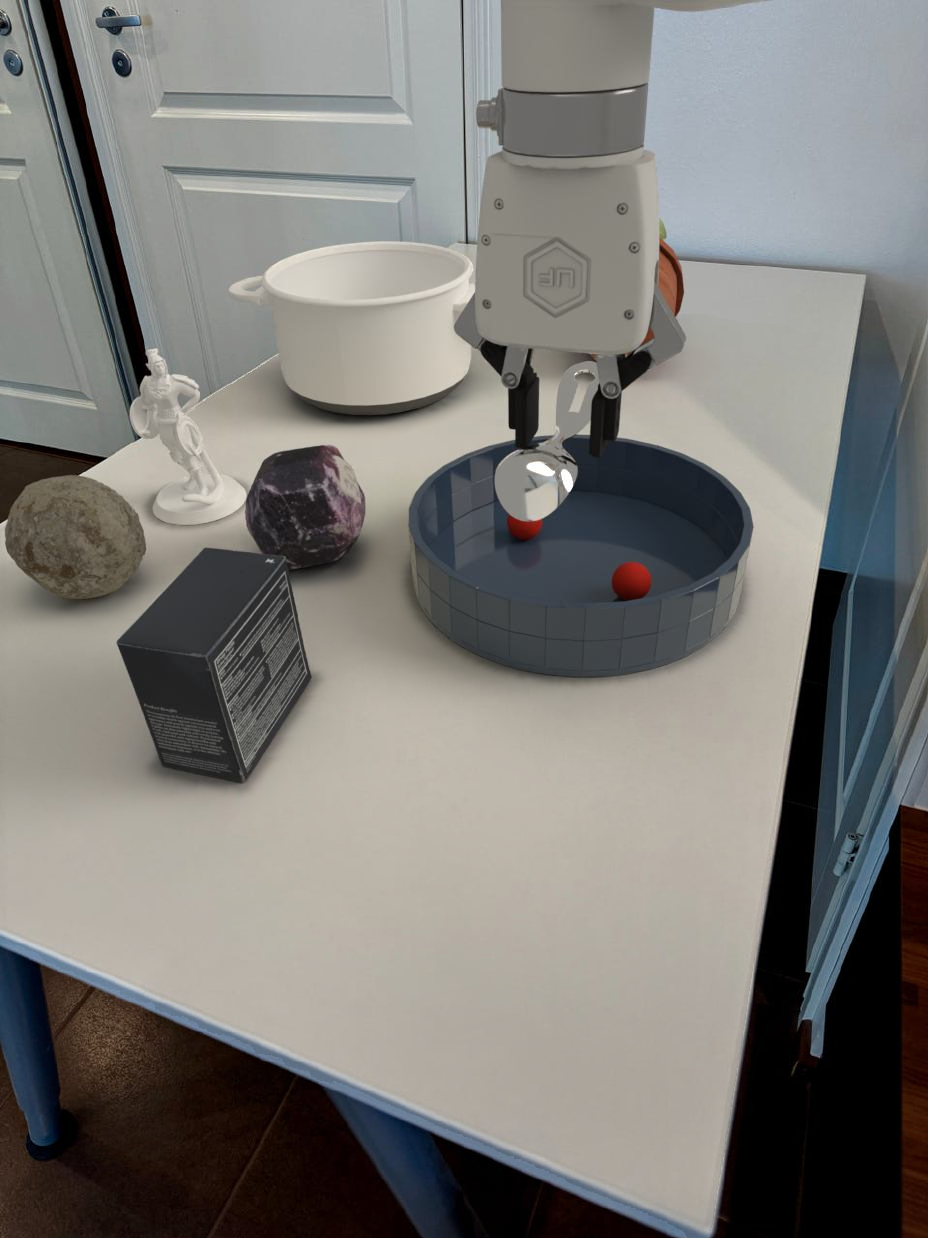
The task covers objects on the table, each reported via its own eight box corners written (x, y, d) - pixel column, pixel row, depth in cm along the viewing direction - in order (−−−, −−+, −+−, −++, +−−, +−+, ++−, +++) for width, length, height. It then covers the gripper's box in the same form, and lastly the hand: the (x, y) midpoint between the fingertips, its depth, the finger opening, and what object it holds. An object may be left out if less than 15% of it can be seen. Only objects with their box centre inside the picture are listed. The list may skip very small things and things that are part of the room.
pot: (531, 357, 110) (533, 242, 102) (498, 438, 92) (496, 306, 84) (285, 346, 117) (267, 237, 108) (208, 420, 99) (180, 295, 90)
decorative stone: (178, 568, 75) (148, 461, 69) (119, 626, 68) (81, 515, 62) (76, 552, 77) (40, 448, 71) (11, 607, 71) (-36, 498, 65)
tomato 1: (546, 531, 76) (546, 500, 74) (536, 549, 74) (536, 518, 72) (513, 525, 77) (513, 495, 75) (502, 543, 75) (502, 512, 73)
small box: (233, 663, 64) (202, 541, 58) (314, 677, 63) (292, 553, 56) (154, 767, 56) (108, 638, 50) (246, 785, 55) (210, 655, 48)
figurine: (132, 513, 82) (84, 357, 73) (194, 472, 89) (157, 324, 80) (206, 532, 79) (166, 372, 70) (265, 488, 85) (235, 335, 76)
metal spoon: (559, 331, 63) (624, 336, 62) (558, 378, 65) (621, 383, 64) (483, 476, 49) (567, 485, 47) (485, 529, 51) (565, 539, 50)
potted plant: (690, 396, 103) (667, 281, 129) (700, 265, 93) (673, 169, 119) (556, 402, 105) (560, 288, 131) (552, 275, 95) (557, 178, 121)
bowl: (756, 517, 78) (768, 455, 74) (716, 711, 58) (729, 641, 55) (477, 476, 86) (475, 419, 82) (359, 636, 66) (350, 570, 63)
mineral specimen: (338, 585, 68) (277, 470, 64) (256, 593, 75) (197, 489, 71) (408, 525, 75) (357, 416, 71) (327, 537, 82) (277, 439, 78)
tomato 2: (652, 590, 69) (656, 557, 67) (645, 612, 66) (649, 579, 65) (615, 583, 70) (617, 551, 68) (606, 604, 67) (608, 572, 66)
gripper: (398, 135, 46) (422, 454, 57) (729, 140, 41) (685, 487, 52) (448, 113, 51) (461, 407, 62) (744, 115, 47) (701, 434, 58)
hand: (563, 441), depth 57 cm, fingers closed on metal spoon, 4 cm apart
